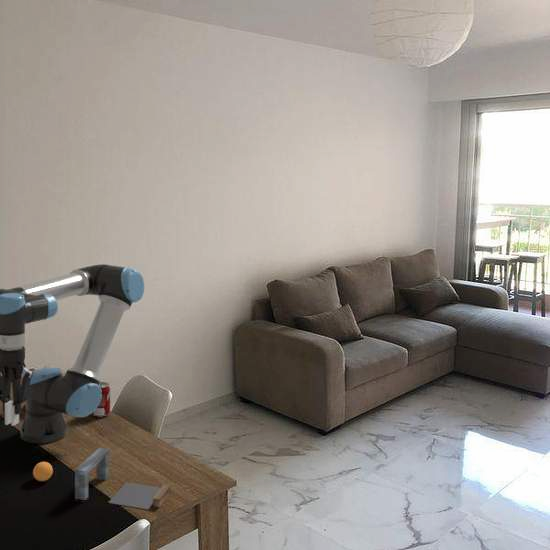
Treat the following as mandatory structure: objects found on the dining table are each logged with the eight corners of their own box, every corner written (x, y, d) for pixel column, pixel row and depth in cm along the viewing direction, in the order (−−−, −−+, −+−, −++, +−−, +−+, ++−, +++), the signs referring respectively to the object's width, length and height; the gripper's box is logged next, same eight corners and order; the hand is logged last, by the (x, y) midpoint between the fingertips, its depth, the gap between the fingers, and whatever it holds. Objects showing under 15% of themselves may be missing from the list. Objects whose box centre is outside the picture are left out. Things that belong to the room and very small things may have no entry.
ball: (29, 483, 182) (29, 465, 181) (39, 474, 187) (39, 457, 186) (46, 485, 181) (46, 468, 180) (56, 477, 186) (56, 460, 185)
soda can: (104, 419, 230) (105, 388, 228) (88, 416, 231) (88, 386, 229) (113, 412, 236) (113, 382, 234) (96, 410, 238) (97, 380, 236)
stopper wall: (152, 506, 173) (153, 498, 173) (163, 492, 181) (163, 484, 181) (159, 507, 173) (159, 499, 173) (170, 493, 181) (170, 485, 180)
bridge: (75, 499, 174) (75, 469, 173) (99, 476, 188) (99, 447, 187) (84, 501, 174) (85, 471, 172) (108, 477, 188) (109, 449, 186)
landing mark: (108, 503, 174) (108, 502, 174) (126, 482, 185) (126, 482, 185) (148, 510, 172) (148, 509, 171) (164, 488, 183) (164, 488, 183)
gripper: (-20, 347, 177) (-18, 425, 181) (25, 353, 174) (26, 431, 178) (-3, 340, 184) (-2, 415, 188) (40, 346, 182) (41, 421, 186)
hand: (12, 423), depth 183 cm, fingers closed
